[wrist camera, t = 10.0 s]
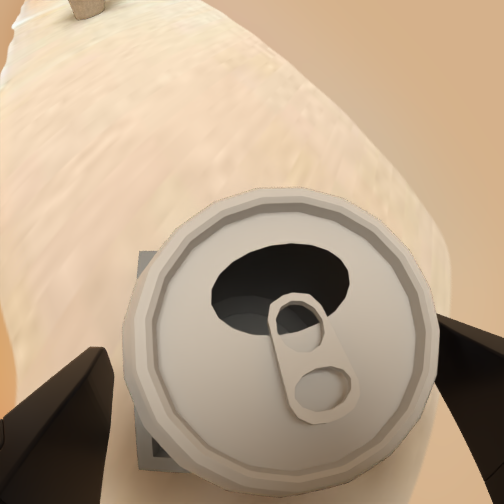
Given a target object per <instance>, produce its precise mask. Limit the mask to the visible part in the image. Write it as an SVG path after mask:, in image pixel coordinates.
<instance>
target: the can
mask: <svg viewBox="0 0 504 504" xmlns="http://www.w3.org/2000/svg"><path fill="white" fill-rule="evenodd" d="M439 337H440V329H439V324H438V319H437V314H436V310H435V305H434V301H433V297H432V293H431V289H430V286H429V285H428V283H427V281H426V279H425V277H424V275H423V273H422V271H421V269H420V268H419V266H418V264H417V262H416V260H415V259H414V257H413V255H412V253H411V251H410V250H409V249H408V248H407V247H406V246H405V245H404V244H403V243H402V242H401V240H400V239H399V238H398V237H397V236H396V235H395V234H394V233H393V232H392V231H391V230H390V229H389V228H388V227H387V226H386V225H385V224H384V223H383V222H382V221H381V220H380V219H378V218H376V217H375V216H373V215H371V214H370V213H368V212H366V211H365V210H363V209H361V208H360V207H358V206H356V205H354V204H353V203H351V202H349V201H348V200H346V199H344V198H341V197H338V196H334V195H330V194H326V193H323V192H319V191H315V190H311V189H307V188H303V187H271V188H255V189H252V190H249V191H246V192H242V193H239V194H236V195H233V196H230V197H227V198H224V199H221V200H218V201H215V202H213V203H211V204H210V205H209V206H207V207H206V208H204V209H203V210H201V211H200V212H198V213H197V214H196V215H194V216H193V217H191V218H190V219H189V220H187V221H186V222H184V223H183V224H182V225H180V226H179V227H177V228H176V229H175V230H174V231H173V233H172V234H171V235H170V237H169V238H168V239H167V240H166V241H165V242H164V243H163V245H162V246H161V247H160V249H159V250H158V251H157V253H156V254H155V255H154V257H153V258H152V260H151V261H150V262H149V264H148V265H147V266H146V268H145V269H144V271H143V272H142V273H141V275H140V276H139V278H138V279H137V281H136V284H135V287H134V290H133V293H132V296H131V299H130V302H129V306H128V309H127V312H126V315H125V319H124V322H123V326H122V347H123V369H124V380H125V382H126V385H127V387H128V390H129V393H130V395H131V398H132V400H133V402H134V405H135V407H136V410H137V412H138V414H139V417H140V419H141V421H142V424H143V426H144V428H145V429H146V430H147V431H148V432H149V433H150V434H151V436H152V437H153V438H154V439H155V440H156V441H157V442H158V443H159V445H160V446H161V447H162V448H163V449H164V450H165V451H166V452H167V453H168V454H169V455H170V456H171V457H172V458H173V460H174V461H175V462H176V463H177V464H178V465H179V466H180V467H182V468H184V469H186V470H188V471H189V472H191V473H193V474H195V475H197V476H199V477H201V478H203V479H205V480H206V481H208V482H210V483H212V484H214V485H217V486H219V487H221V488H223V489H225V490H227V491H232V492H238V493H245V494H252V495H260V496H268V497H279V498H281V497H286V496H292V495H300V494H305V493H310V492H314V491H319V490H323V489H327V488H331V487H334V486H338V485H342V484H345V483H348V482H350V481H352V480H353V479H355V478H357V477H358V476H360V475H361V474H363V473H365V472H366V471H368V470H369V469H371V468H372V467H374V466H375V465H377V464H378V463H380V462H381V461H383V460H384V459H386V458H387V457H389V456H390V455H391V454H392V453H393V452H394V450H395V449H396V448H397V447H398V446H399V444H400V443H401V442H402V441H403V440H404V438H405V437H406V436H407V435H408V433H409V432H410V431H411V429H412V428H413V427H414V426H415V424H416V423H417V422H418V420H419V419H420V417H421V415H422V413H423V410H424V408H425V405H426V403H427V400H428V398H429V395H430V392H431V390H432V387H433V384H434V381H435V379H436V376H437V367H438V354H439Z"/></svg>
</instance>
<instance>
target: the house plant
mask: <svg viewBox="0 0 504 504" xmlns="http://www.w3.org/2000/svg"><path fill="white" fill-rule="evenodd" d="M68 1H69V3H70V6H71V8H72V10H73V12H74V14H75V17H76V19H77V20H83V19H87V18H90V17H93V16H95V15H98V14H99V13H101V12H102V11H103V10H104V0H68Z"/></svg>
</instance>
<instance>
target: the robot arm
mask: <svg viewBox="0 0 504 504" xmlns="http://www.w3.org/2000/svg"><path fill="white" fill-rule="evenodd" d="M436 314H437V313H436ZM437 319H438V324H439V329H440V337H439V354H438V367H437V376H436V379H435V381H434V382H435V384H436V386H437V388H438V390H439V392H440V393H441V395H442V397H443V399H444V401H445V402H446V404H447V406H448V408H449V410H450V411H451V414H452V416H453V417H454V419H455V421H456V423H457V425H458V427H459V429H460V431H461V433H462V435H463V437H464V439H465V441H466V443H467V445H468V447H469V449H470V451H471V453H472V456H473V458H474V460H475V462H476V464H477V466H478V468H479V471H480V473H481V475H482V478H483V480H484V481H485V484H486V487H487V490H488V492H489V494H490V497H491V499H492V502H493V504H504V338H502V337H500V336H497V335H494V334H491V333H489V332H486V331H483V330H481V329H478V328H475V327H472V326H470V325H467V324H464V323H461V322H459V321H456V320H453V319H451V318H448V317H445V316H442V315H440V314H437ZM113 386H114V372H113V368H112V365H111V363H110V360H109V357H108V354H107V351H106V349H105V348H103V347H89V348H88V349H87V350H85V351H84V352H83V353H81V354H80V355H79V356H78V357H76V358H75V359H74V360H73V361H71V362H70V363H69V364H68V365H66V366H65V367H64V368H63V369H61V370H60V371H59V372H58V373H56V374H55V375H54V376H53V377H52V378H50V379H49V380H48V381H47V382H45V383H44V384H43V385H42V386H40V387H39V388H38V389H37V390H36V391H34V392H33V393H32V394H31V395H29V396H28V397H27V398H26V399H25V400H23V401H22V402H21V403H20V404H19V405H17V406H16V407H15V408H14V409H12V410H11V411H10V412H9V413H8V414H6V415H5V416H4V417H3V419H0V504H100V497H101V488H102V480H103V472H104V465H105V458H106V452H107V445H108V439H109V433H110V426H111V412H112V398H113Z"/></svg>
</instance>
